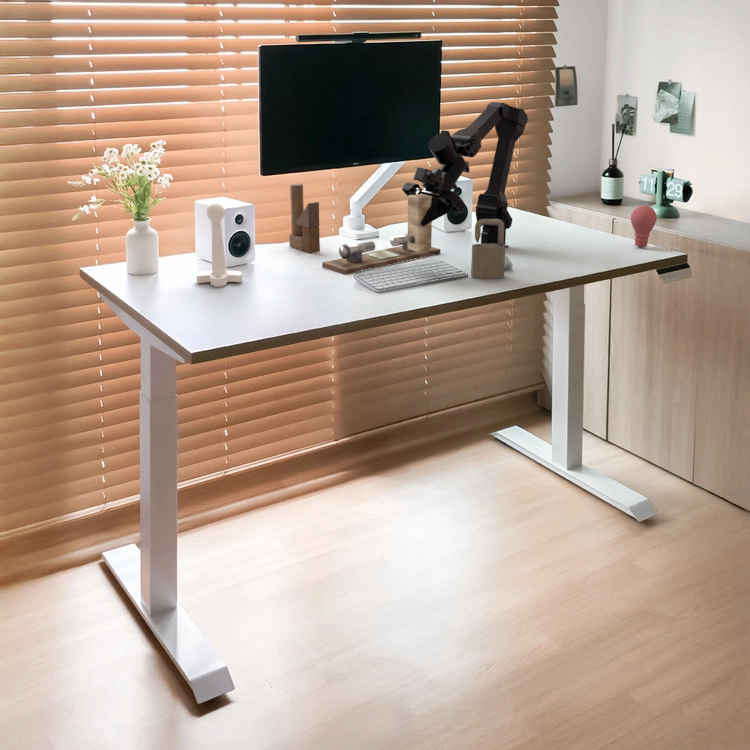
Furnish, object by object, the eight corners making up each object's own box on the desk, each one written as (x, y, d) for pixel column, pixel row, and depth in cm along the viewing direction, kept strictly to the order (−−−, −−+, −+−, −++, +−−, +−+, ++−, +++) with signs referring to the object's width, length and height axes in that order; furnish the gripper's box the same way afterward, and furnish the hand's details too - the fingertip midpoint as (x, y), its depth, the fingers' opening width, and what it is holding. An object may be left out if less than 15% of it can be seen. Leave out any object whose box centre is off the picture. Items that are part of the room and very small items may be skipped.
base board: (416, 246, 281) (416, 241, 281) (440, 253, 274) (440, 248, 274) (322, 266, 261) (322, 261, 260) (345, 274, 254) (345, 268, 253)
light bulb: (643, 243, 284) (648, 202, 280) (658, 249, 278) (663, 207, 274) (623, 245, 282) (626, 204, 278) (637, 251, 276) (641, 209, 272)
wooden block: (309, 253, 274) (307, 189, 268) (289, 246, 282) (287, 183, 276) (320, 251, 276) (319, 188, 270) (299, 244, 284) (298, 182, 278)
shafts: (415, 246, 277) (415, 228, 275) (424, 248, 274) (424, 230, 272) (338, 262, 260) (338, 243, 258) (347, 265, 257) (347, 246, 255)
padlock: (470, 275, 253) (472, 217, 248) (501, 274, 254) (504, 217, 248) (473, 279, 249) (475, 221, 244) (504, 278, 250) (507, 220, 244)
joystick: (242, 278, 250) (238, 201, 243) (240, 287, 243) (236, 207, 236) (198, 279, 249) (193, 201, 242) (195, 288, 242) (189, 207, 235)
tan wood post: (422, 246, 257) (422, 193, 252) (432, 249, 254) (433, 196, 249) (406, 249, 255) (406, 195, 250) (416, 252, 251) (417, 198, 246)
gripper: (407, 151, 255) (375, 198, 252) (457, 159, 241) (424, 210, 239) (429, 177, 262) (397, 224, 260) (479, 187, 249) (446, 236, 246)
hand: (415, 223), depth 251 cm, fingers closed on tan wood post, 5 cm apart
